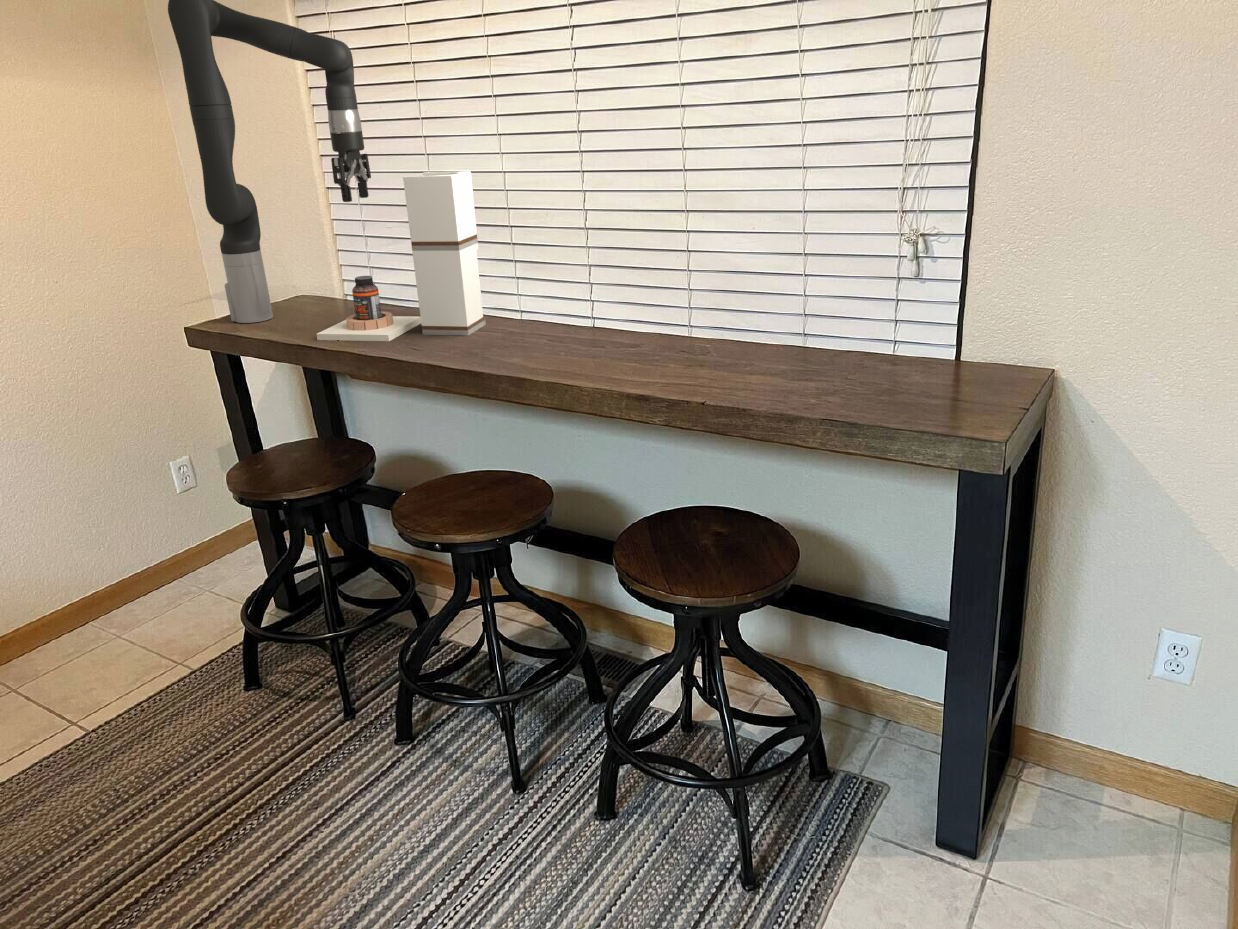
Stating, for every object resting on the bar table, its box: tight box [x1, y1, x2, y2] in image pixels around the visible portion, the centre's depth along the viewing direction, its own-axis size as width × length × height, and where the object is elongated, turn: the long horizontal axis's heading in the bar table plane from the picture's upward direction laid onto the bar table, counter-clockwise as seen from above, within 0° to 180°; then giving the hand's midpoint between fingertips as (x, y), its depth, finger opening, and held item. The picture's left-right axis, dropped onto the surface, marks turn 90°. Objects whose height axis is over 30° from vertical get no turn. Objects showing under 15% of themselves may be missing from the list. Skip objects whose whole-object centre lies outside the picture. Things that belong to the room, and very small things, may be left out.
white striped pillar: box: [402, 170, 486, 336], centre depth 209 cm, size 11×11×35 cm
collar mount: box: [316, 311, 422, 342], centre depth 217 cm, size 18×18×4 cm
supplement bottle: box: [351, 275, 382, 320], centre depth 215 cm, size 6×6×11 cm
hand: (356, 199), depth 227 cm, fingers open, 8 cm apart
